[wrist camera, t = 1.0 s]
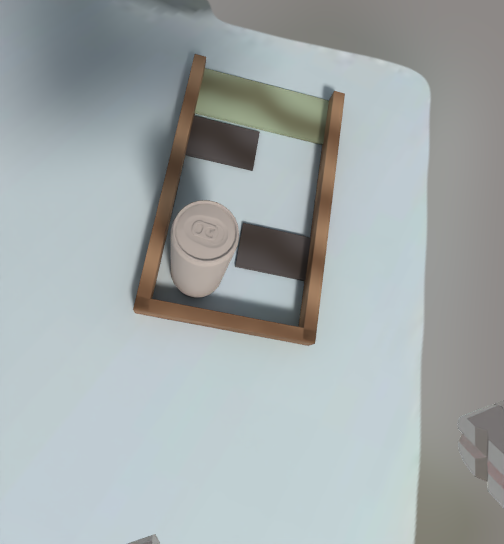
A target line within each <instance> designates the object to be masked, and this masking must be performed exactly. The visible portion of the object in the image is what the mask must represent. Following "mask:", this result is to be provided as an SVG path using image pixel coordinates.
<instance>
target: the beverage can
mask: <svg viewBox="0 0 504 544" xmlns="http://www.w3.org/2000/svg"><path fill="white" fill-rule="evenodd" d="M238 240H239V231H238V224H237V222H236V219H235V217H234V216H233V214H232V213H231V212H230V211H229V210H228V209H227V208H226V207H224V206H223V205H221V204H219V203H217V202H213V201H209V200H200V201H196V202H192V203H190V204H188V205H187V206H185V207H184V208H183V209H182V210H181V211H180V212H179V213H178V214H177V216H176V218H175V220H174V221H173V224H172V228H171V277H172V280H173V282H174V284H175V285H176V287H177V288H178V289H179V290H180V291H181V292H182V293H184V294H186V295H187V296H190V297H195V298H197V297H204V296H207V295H209V294H211V293H212V292H214V291H215V290H216V289H217V287H218V286H219V284H220V282H221V280H222V278H223V276H224V274H225V271H226V269H227V267H228V265H229V263H230V261H231V259H232V256H233V254H234V252H235V250H236V248H237V246H238Z"/></svg>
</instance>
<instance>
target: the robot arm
mask: <svg viewBox="0 0 504 544" xmlns="http://www.w3.org/2000/svg"><path fill="white" fill-rule="evenodd" d="M458 429H459V430H460V431H461V432H462V433H463V434H462V436H461V437H460V439H459V441H458V443H459V452H460V454H461V456H462V459H463V461H464V463H465V464H466V466H467V467H468V469H469V470H470V471H471V472H472V474H473V475H474V476H475V477H477V478H479V479H482V480H484V481H487V486H488V492H489V493H490V494H491V495H492V496H493V497H494V498H495V499H496V500H497V501H498V503H499V504H500V505H501V506H502V507H503V508H504V401H500V402H498V403H495V404H493V405H489V406H486V407H484V408H481V409H479V410H476V411H474V412H471V413H469V414H466V415H464V416H461V417H460V418H459V420H458ZM128 544H160V542H159V540H158V538H157V536H156V534H154V535H151V536H148V537H145V538H142V539H139V540H136V541H134V542H131V543H128Z"/></svg>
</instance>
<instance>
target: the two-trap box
mask: <svg viewBox="0 0 504 544" xmlns="http://www.w3.org/2000/svg"><path fill="white" fill-rule="evenodd" d="M205 64H206V57H204V56H201V55H197V54H195V55H194V59H193V63H192V67H191V72H190V76H189V80H188V84H187V88H186V92H185V96H184V101H183V105H182V109H181V113H180V117H179V121H178V126H177V130H176V134H175V138H174V142H173V146H172V150H171V155H170V159H169V163H168V167H167V171H166V175H165V179H164V184H163V188H162V192H161V196H160V200H159V204H158V208H157V213H156V217H155V221H154V225H153V229H152V233H151V237H150V242H149V246H148V250H147V254H146V258H145V262H144V266H143V271H142V275H141V279H140V283H139V287H138V291H137V295H136V300H135V304H134V308H133V310H134V312H135V313H137V314H142V315H148V316H153V317H158V318H164V319H169V320H174V321H180V322H185V323H190V324H196V325H201V326H206V327H212V328H217V329H222V330H228V331H233V332H238V333H244V334H249V335H254V336H260V337H265V338H270V339H276V340H281V341H286V342H292V343H297V344H302V345H308V346H309V345H312V344H315V339H316V331H317V323H318V314H319V306H320V297H321V289H322V281H323V272H324V264H325V255H326V247H327V239H328V230H329V222H330V214H331V205H332V197H333V188H334V180H335V172H336V163H337V155H338V146H339V138H340V130H341V121H342V113H343V105H344V96H345V94H344V93H340V92H336V91H334V92H333V94H332V96H331V98H330V100H329V101H328V100H324V99H320V98H317V97H313V96H309V95H305V94H301V93H297V92H294V91H290V90H286V89H282V88H278V87H274V86H271V85H267V84H263V83H259V82H255V81H252V80H248V79H244V78H240V77H236V76H232V75H229V74H225V73H221V72H217V71H213V70H210V69H206V68H205ZM195 113H196V114H200V115H204V116H208V117H212V118H216V119H220V120H224V121H228V122H232V123H236V124H240V125H244V126H248V127H252V128H256V129H260V130H264V131H268V132H272V133H276V134H280V135H284V136H288V137H292V138H297V139H301V140H305V141H309V142H313V143H317V144H321V145H322V152H321V159H320V167H319V174H318V182H317V190H316V197H315V205H314V213H313V220H312V228H311V235H310V237H305V236H301V235H296V234H291V233H287V232H282V231H278V230H273V229H269V228H264V227H260V226H255V225H250V224H246V223H243V226H242V232H241V237H240V243H239V248H238V254H237V259H236V265H235V267H239V268H244V269H249V270H254V271H259V272H263V273H268V274H273V275H278V276H283V277H288V278H292V279H297V280H302V281H304V289H303V296H302V304H301V312H300V319H299V327H296V326H290V325H285V324H280V323H275V322H270V321H264V320H259V319H254V318H249V317H244V316H238V315H233V314H228V313H223V312H218V311H212V310H207V309H202V308H197V307H192V306H186V305H181V304H176V303H171V302H166V301H160V300H155V299H152V297H153V293H154V289H155V284H156V280H157V275H158V271H159V267H160V262H161V258H162V254H163V249H164V245H165V241H166V236H167V232H168V228H169V223H170V219H171V215H172V210H173V206H174V202H175V197H176V193H177V189H178V184H179V180H180V176H181V171H182V167H183V163H184V158H185V155H187V156H192V157H196V158H200V159H204V160H209V161H213V162H217V163H221V164H226V165H230V166H234V167H238V168H243V169H247V170H251V171H253V166H254V161H255V155H256V149H257V144H258V138H259V133H260V132H258V131H254V130H250V129H246V128H242V127H238V126H234V125H230V124H226V123H222V122H218V121H214V120H210V119H206V118H202V117H198V116H194V115H195Z"/></svg>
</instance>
